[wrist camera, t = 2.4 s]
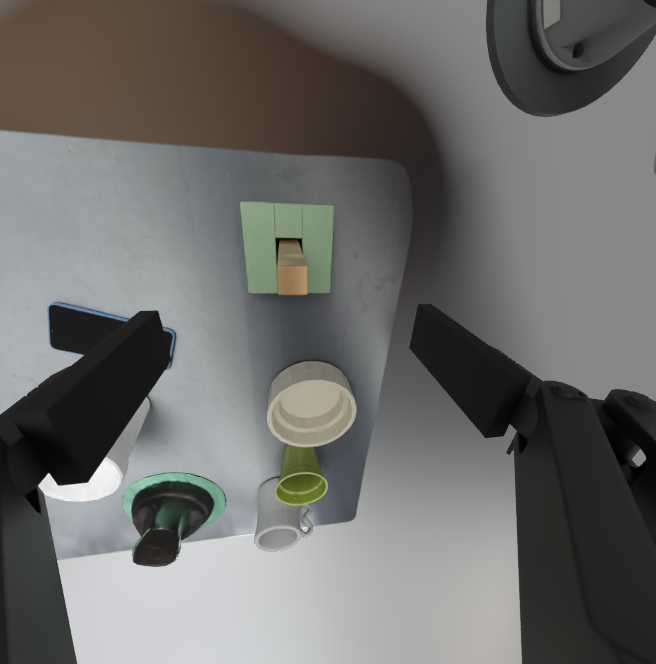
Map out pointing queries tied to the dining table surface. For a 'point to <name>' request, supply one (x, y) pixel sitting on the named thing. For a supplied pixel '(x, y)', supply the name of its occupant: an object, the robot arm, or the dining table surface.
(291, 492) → the plant pot
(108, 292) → the dining table surface
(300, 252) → the stirring stick
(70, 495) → the cup
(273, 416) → the bowl
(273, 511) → the mug
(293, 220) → the holder
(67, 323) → the smartphone
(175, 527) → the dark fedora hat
